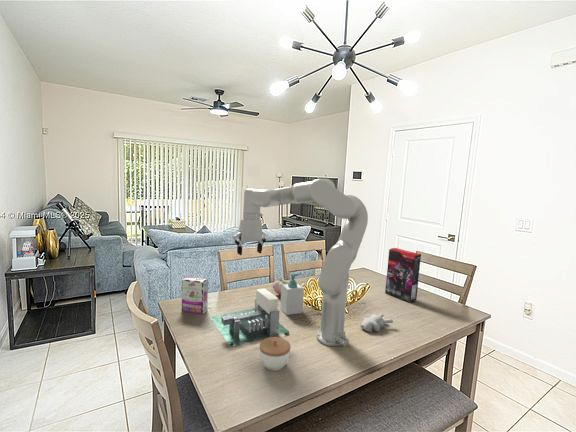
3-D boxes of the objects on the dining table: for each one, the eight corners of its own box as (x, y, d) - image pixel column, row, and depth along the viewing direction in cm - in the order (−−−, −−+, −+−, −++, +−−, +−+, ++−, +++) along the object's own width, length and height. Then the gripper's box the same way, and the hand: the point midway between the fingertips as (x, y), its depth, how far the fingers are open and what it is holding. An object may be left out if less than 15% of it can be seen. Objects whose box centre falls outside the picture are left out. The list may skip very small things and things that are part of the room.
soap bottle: (302, 313, 149) (305, 275, 146) (286, 315, 146) (288, 276, 143) (296, 305, 157) (298, 270, 154) (280, 307, 154) (281, 271, 151)
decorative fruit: (291, 295, 171) (292, 277, 170) (284, 299, 164) (284, 281, 163) (278, 291, 176) (279, 274, 174) (269, 295, 169) (270, 278, 168)
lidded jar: (288, 356, 112) (290, 332, 111) (289, 375, 101) (291, 349, 100) (259, 356, 112) (260, 332, 110) (257, 374, 101) (258, 348, 100)
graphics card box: (383, 293, 181) (388, 248, 177) (390, 291, 185) (395, 247, 181) (410, 303, 167) (415, 255, 164) (417, 300, 171) (422, 253, 168)
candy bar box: (207, 311, 145) (208, 278, 143) (202, 316, 140) (203, 282, 138) (187, 308, 148) (187, 275, 146) (181, 312, 143) (181, 279, 141)
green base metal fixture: (289, 333, 128) (290, 309, 127) (230, 349, 115) (231, 322, 113) (260, 308, 151) (261, 287, 150) (209, 319, 138) (209, 296, 136)
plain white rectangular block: (277, 312, 126) (278, 298, 125) (269, 314, 124) (269, 300, 123) (264, 301, 137) (264, 288, 136) (256, 302, 135) (256, 289, 134)
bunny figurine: (355, 318, 138) (379, 308, 145) (355, 328, 139) (379, 318, 146) (371, 327, 130) (395, 316, 137) (371, 338, 130) (395, 327, 138)
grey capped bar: (272, 315, 130) (272, 310, 130) (224, 326, 119) (224, 320, 119) (268, 312, 133) (268, 306, 133) (221, 322, 122) (221, 316, 122)
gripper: (264, 214, 143) (262, 250, 146) (230, 215, 134) (228, 253, 136) (272, 217, 137) (270, 254, 139) (236, 218, 128) (235, 257, 130)
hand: (249, 253), depth 138 cm, fingers open, 9 cm apart
